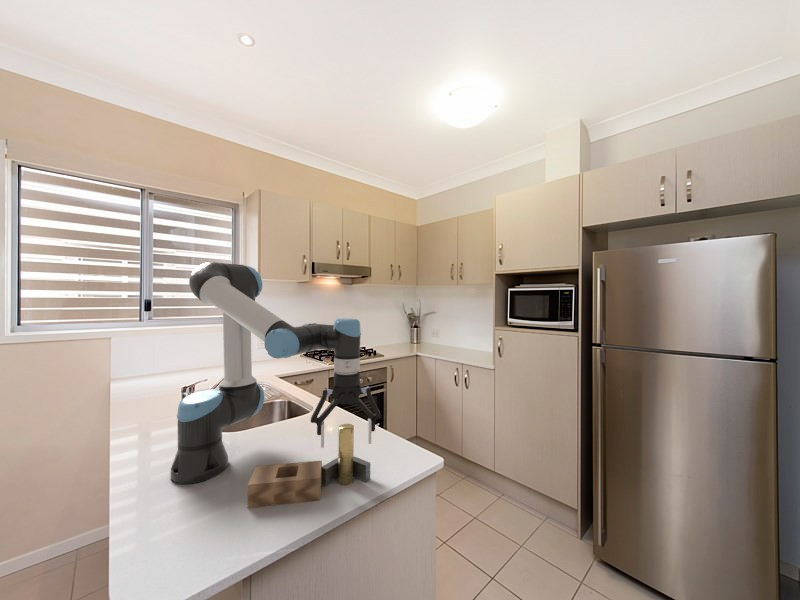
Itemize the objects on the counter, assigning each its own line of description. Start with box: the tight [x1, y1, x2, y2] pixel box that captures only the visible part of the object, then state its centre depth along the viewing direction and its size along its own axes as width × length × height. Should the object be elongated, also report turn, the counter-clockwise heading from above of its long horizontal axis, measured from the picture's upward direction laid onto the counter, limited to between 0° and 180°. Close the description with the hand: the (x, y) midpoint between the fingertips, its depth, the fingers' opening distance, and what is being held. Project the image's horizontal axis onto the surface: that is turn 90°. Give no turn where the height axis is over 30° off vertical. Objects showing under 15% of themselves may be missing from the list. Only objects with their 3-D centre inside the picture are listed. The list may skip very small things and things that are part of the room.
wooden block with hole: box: [246, 460, 323, 509], centre depth 88 cm, size 18×9×6 cm, turn 101°
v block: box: [321, 456, 371, 487], centre depth 96 cm, size 14×7×5 cm, turn 101°
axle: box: [337, 423, 355, 486], centre depth 94 cm, size 4×4×16 cm
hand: (346, 443), depth 94 cm, fingers open, 13 cm apart
